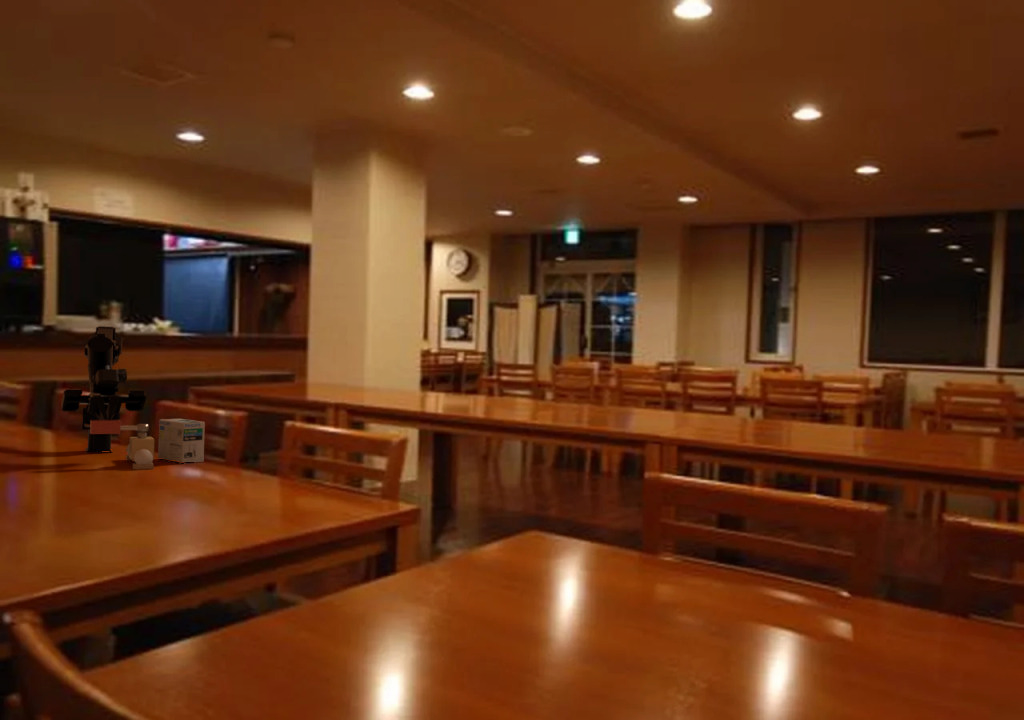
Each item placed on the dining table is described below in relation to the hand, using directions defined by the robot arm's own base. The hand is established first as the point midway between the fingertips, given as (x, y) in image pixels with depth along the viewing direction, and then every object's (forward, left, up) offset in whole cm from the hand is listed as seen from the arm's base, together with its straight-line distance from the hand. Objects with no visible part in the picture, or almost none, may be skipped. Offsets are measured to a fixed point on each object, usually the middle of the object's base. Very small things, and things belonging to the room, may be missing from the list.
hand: (108, 425), depth 201 cm
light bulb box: (-5, +18, -10) cm, 21 cm away
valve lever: (+3, +2, -1) cm, 4 cm away
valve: (-1, +7, -10) cm, 12 cm away
